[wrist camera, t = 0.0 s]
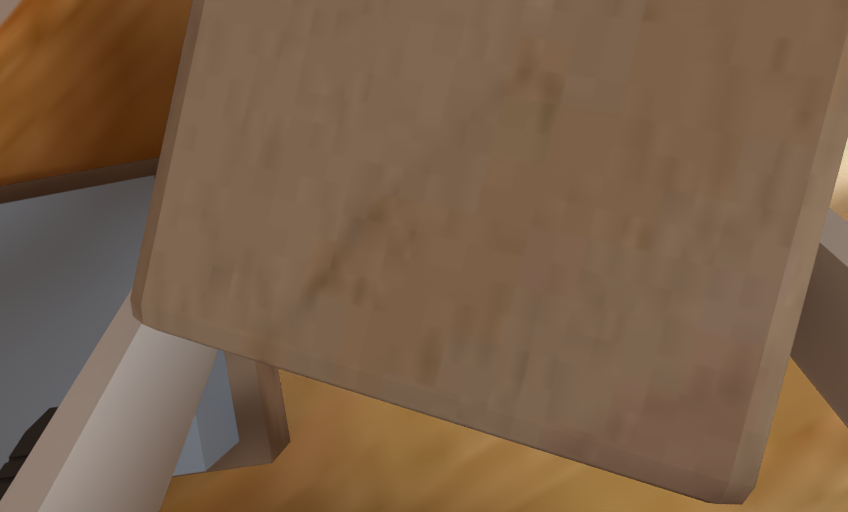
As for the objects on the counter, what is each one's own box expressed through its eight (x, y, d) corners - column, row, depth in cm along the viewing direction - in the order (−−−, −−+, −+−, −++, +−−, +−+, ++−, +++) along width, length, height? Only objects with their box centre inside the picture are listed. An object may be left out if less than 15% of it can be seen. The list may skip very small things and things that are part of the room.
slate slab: (239, 441, 26) (205, 471, 23) (-2, 477, 27) (-71, 511, 23) (194, 184, 26) (153, 175, 22) (-46, 229, 27) (-121, 226, 23)
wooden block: (647, 132, 26) (978, -280, 6) (598, 329, 26) (762, 533, 7) (451, 99, 28) (236, -282, 8) (409, 281, 28) (110, 325, 9)
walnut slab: (294, 437, 30) (272, 462, 26) (29, 475, 31) (-25, 504, 27) (247, 157, 29) (218, 146, 26) (-17, 205, 30) (-79, 200, 27)
